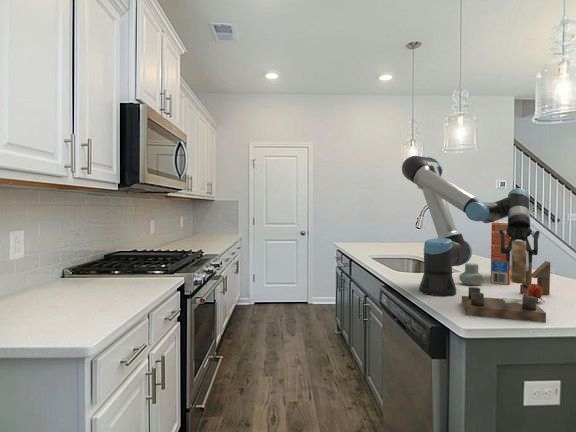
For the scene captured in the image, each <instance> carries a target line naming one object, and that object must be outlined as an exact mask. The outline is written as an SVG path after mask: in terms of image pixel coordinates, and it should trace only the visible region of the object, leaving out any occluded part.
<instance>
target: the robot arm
mask: <svg viewBox="0 0 576 432" xmlns="http://www.w3.org/2000/svg"><path fill="white" fill-rule="evenodd" d="M401 173H402V175H403V177H404V178H406V180H408V181H409V182H410V181H411V182H412V184H415V185H416V186H417V189H420V190H422V193H423V196H424V199H425V201H426V202H425V203H426V205H427V209H428V210H429V213H430V217H431V219H432V222H433V225H434V229H435V231H436V234H437V238H431V239H426V241H425V242H424V245H423V275H422V278H421V281H420V283H419V287H418V288H419V290H420V291H421V292H423V293H422V294H424V293H427V294H426V295H429V294H433V295H432V296H437V295H441V296H440V297H449V296H455V295H457V287H456V284H455V280H454V278H453V267H460V266H463V265H465V264H466V263H468V262H469V261H470V260H471V258H472V255H473V250H472V247H471V244H470V243H469V242H468V241H466V240H465V239H464V236H463V234H462V232H459V231H458V230H457V227H456V225H455V222H454V219H453V216H452V213H451V211H450V208H449V205H448V203H449V204H450V205H452V206H453V207H455V208H457V209H458V210H460V211H462V213H464V214H465V216H466V217H467V219H469V220H471V221H474V222H483V223H484V224H490V223H493V222H498V221H499V220H502V219H504V218H507V222H508V228H507V229H506V230H505V231H502V230H499V236H500V238H501V253H502V254H504V253H505V254H506V261H510V270H512V251H511V250H512V241H526V271H528V270H529V262H531V263H532V264H533V256H538V252H539V251H538V250H539V238H540V230H536V231H534V230H532V228H531V211H530V205H531V204H530V201H531V200H530V194H529V192H528V191H527V190H526V189H524V188H520V187H519V188H513V189H511V190H510V191H509V192H508V195H507V197H504V198H502V199H500V200H497V201H494V202H484V201H482V200H481V199H479V198H477V197H476V196H474V195H473V194H471V193H469V192H468V191H465V190H464V189H462V188H461V187H459V186H457V185H455V184H454V183H452V182H451V181H449V180H448V179H446V178H444V177H442V174H443V166H442V164H441V162H440V161H439V160H437V159H436V158H433V157H430V156H429V157H428V156H420V155H411V156H409V157H407V158H406V159H405V160H404V161H403V162H402V165H401ZM506 234H508V235H509V236H510V237H511V238H510V241H509V244H508V246H507V249H505V239H504V237H505V236H506ZM530 236H532V238H533V249H532V247H531V244H530V242H529V237H530ZM420 291H419V292H420ZM421 292H420V293H421Z"/></svg>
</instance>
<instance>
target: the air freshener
mask: <svg viewBox="0 0 576 432" xmlns="http://www.w3.org/2000/svg"><path fill="white" fill-rule="evenodd" d="M464 265H465V266H464V271H463V272H461V273H460V274H459V277H458V278H459V281H460V282H461V283H462V284H465V285H467V286H471V287H476V286H479V285H482V284H483V283H484V281H485V278H484V275H482V273H479V264H478V263H474V262H469V263H468V262H467V263H465V264H464Z"/></svg>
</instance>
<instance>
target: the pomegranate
mask: <svg viewBox="0 0 576 432" xmlns="http://www.w3.org/2000/svg"><path fill="white" fill-rule="evenodd" d="M523 287H525V289H524V290H523V293H522V294H523V295H522V296H532V297H536V303H537V302H538V301H539V300H540V301H542V302H544V303H545V302H546V301H545V300H543V299H542V297H543V296H544V295H543V289H542V288H541V286H539V285H538V284H537V283H532V284H530V285H527V286H525V285H524V286H523Z"/></svg>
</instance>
